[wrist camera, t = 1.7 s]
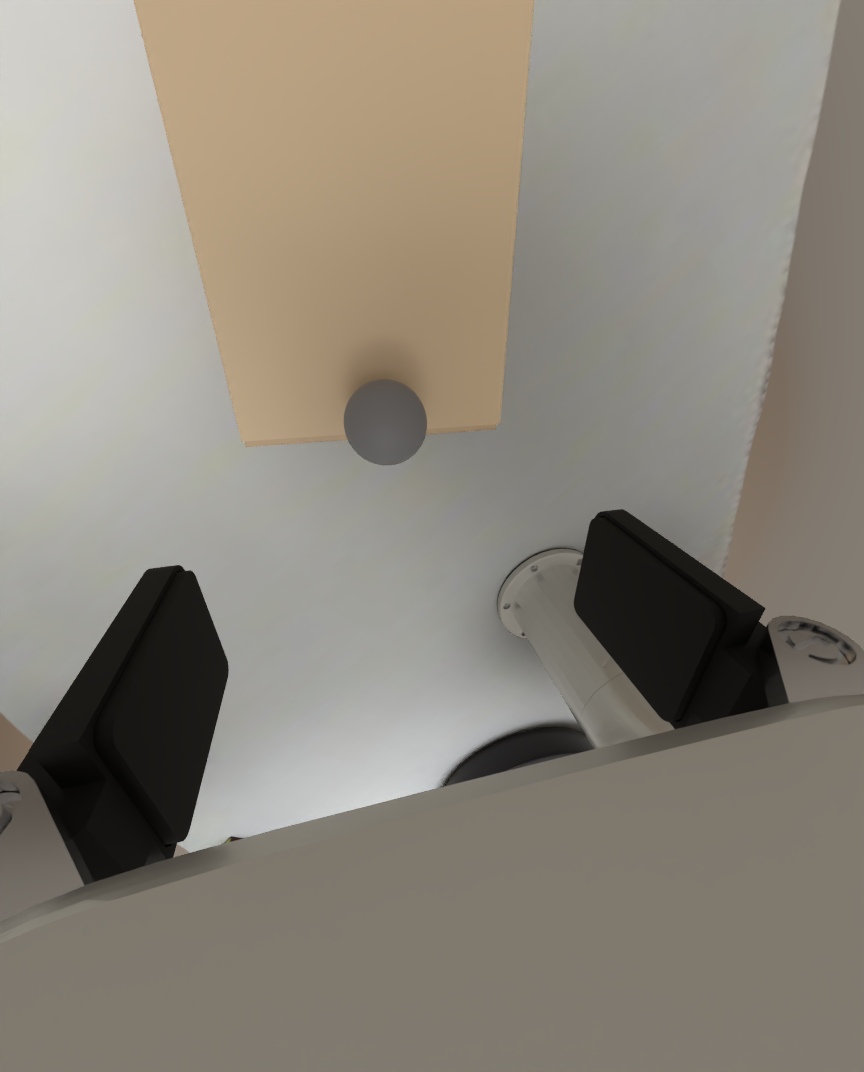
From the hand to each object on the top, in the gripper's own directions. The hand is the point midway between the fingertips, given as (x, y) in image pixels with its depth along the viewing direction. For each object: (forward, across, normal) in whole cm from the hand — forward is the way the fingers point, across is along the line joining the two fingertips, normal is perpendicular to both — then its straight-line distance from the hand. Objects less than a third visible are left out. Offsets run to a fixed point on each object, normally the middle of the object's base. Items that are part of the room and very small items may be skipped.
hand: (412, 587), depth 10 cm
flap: (+16, -1, -10) cm, 19 cm away
